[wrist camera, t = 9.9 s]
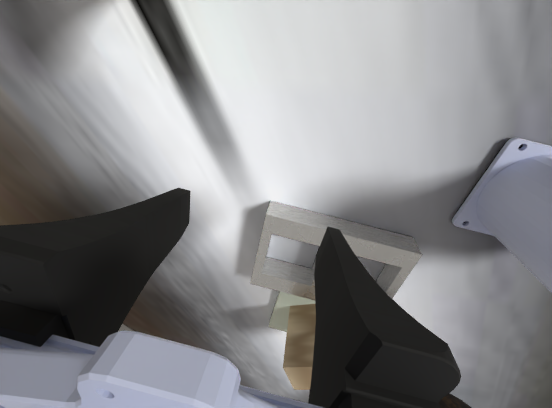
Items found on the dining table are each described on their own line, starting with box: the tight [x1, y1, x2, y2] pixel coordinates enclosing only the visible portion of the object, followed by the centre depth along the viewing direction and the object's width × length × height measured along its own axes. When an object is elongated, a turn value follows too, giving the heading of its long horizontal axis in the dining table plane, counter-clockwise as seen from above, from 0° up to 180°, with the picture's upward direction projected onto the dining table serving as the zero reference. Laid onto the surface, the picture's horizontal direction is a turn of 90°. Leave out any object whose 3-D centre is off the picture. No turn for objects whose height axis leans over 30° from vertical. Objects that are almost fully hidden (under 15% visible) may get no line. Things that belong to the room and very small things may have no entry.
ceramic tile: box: [269, 291, 315, 332], centre depth 31 cm, size 9×8×1 cm
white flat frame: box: [250, 201, 422, 301], centre depth 25 cm, size 14×9×2 cm, turn 78°
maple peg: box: [283, 304, 316, 390], centre depth 27 cm, size 4×4×7 cm
